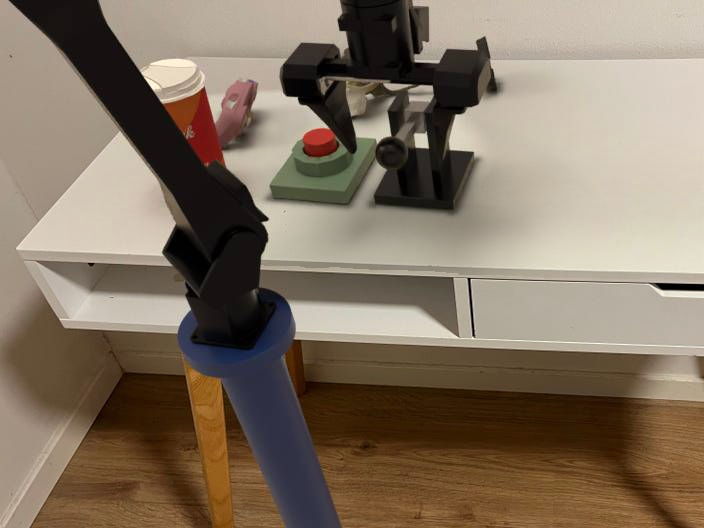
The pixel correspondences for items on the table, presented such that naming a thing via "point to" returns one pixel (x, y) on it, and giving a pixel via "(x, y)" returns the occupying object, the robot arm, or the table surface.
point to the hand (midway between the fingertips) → (397, 155)
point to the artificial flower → (360, 89)
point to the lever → (402, 137)
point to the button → (319, 142)
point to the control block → (324, 173)
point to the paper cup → (186, 104)
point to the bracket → (423, 168)
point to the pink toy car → (236, 110)
